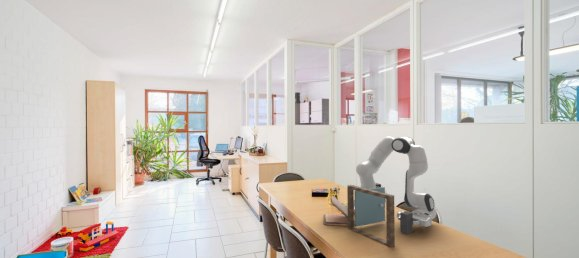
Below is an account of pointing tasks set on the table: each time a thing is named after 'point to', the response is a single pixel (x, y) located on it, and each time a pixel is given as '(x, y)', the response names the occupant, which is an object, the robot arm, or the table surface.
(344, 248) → the table surface
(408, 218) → the dark blue-gray block
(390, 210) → the door frame
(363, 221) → the door
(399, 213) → the robot arm
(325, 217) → the case
